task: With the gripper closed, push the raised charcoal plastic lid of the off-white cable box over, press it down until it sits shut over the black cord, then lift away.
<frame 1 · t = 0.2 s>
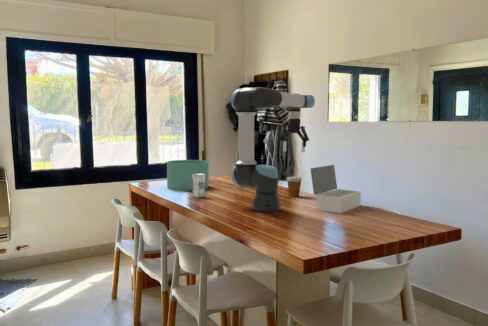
hand: (293, 151, 263), 28 cm above the table, tool pointing down, fingers open, 13 cm apart
disposable coffee cup: (293, 196, 261), on the table
syrup box: (198, 197, 257), on the table
cable box: (338, 207, 225), on the table
cover: (324, 178, 229), point 15 cm above the table, hinge at 100.0°
container: (188, 187, 296), on the table
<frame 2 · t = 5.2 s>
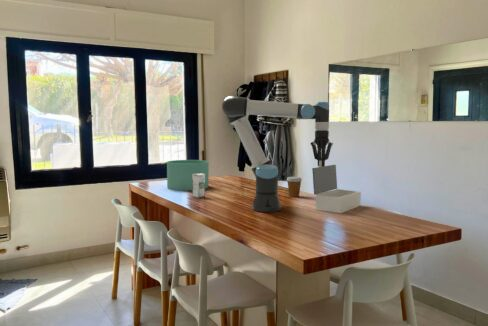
hand: (321, 172, 230), 19 cm above the table, tool pointing down, fingers closed
cover: (325, 178, 229), point 15 cm above the table, hinge at 95.4°, touching gripper
everything else where it was.
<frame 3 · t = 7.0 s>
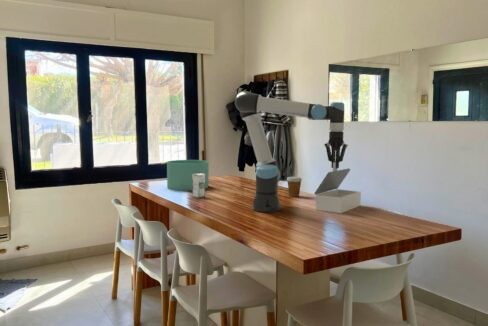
hand: (334, 174, 225), 18 cm above the table, tool pointing down, fingers closed
cover: (333, 180, 226), point 14 cm above the table, hinge at 56.6°, touching gripper
everything else where it was.
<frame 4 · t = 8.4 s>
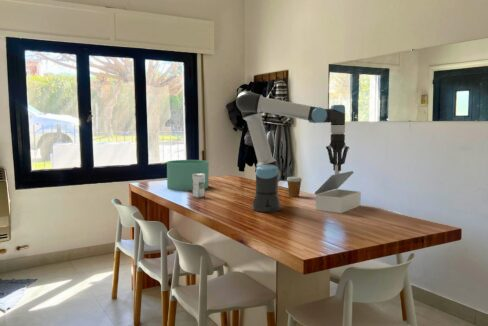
hand: (337, 176, 224), 17 cm above the table, tool pointing down, fingers closed
cover: (334, 182, 225), point 14 cm above the table, hinge at 46.6°, touching gripper
everything else where it was.
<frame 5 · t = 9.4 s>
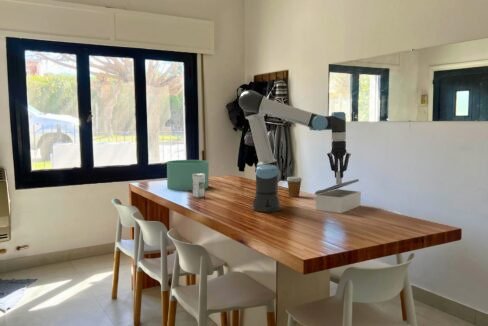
hand: (339, 183, 224), 13 cm above the table, tool pointing down, fingers closed
cover: (337, 186, 224), point 12 cm above the table, hinge at 23.9°, touching gripper
everything else where it was.
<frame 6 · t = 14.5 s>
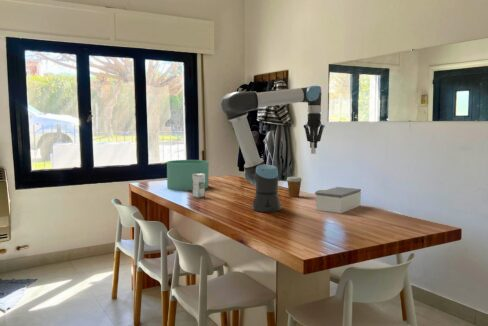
hand: (313, 153, 240), 28 cm above the table, tool pointing down, fingers closed
cover: (339, 191, 224), point 9 cm above the table, hinge at 0.6°
everything else where it was.
at the end: cover at +1° (first picture: +100°); disposable coffee cup moved 0.2 cm from its start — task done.
